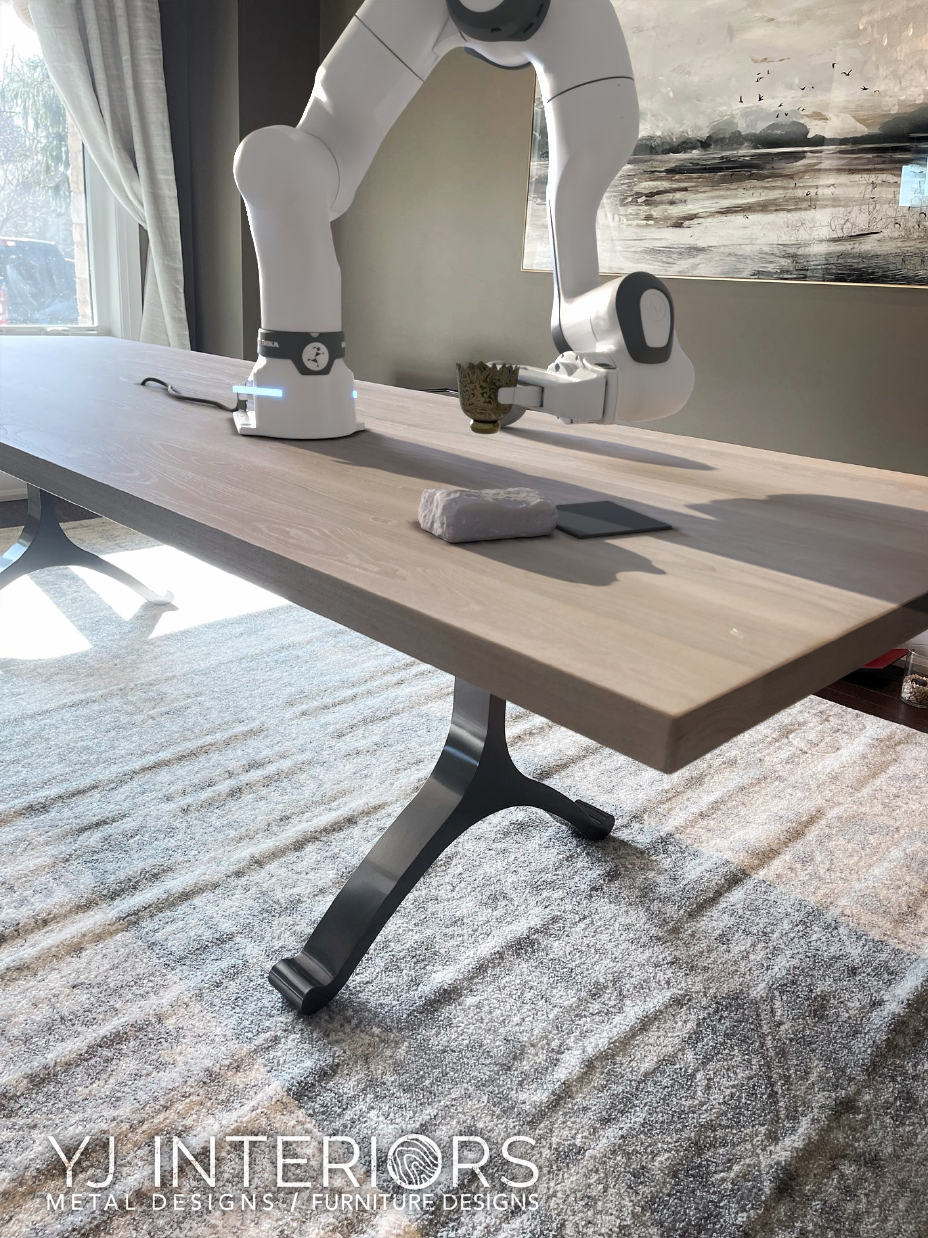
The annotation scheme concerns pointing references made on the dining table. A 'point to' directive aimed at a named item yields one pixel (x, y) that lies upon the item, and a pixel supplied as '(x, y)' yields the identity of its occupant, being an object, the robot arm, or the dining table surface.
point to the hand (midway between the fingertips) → (480, 390)
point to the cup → (484, 394)
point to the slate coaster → (603, 520)
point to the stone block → (486, 513)
